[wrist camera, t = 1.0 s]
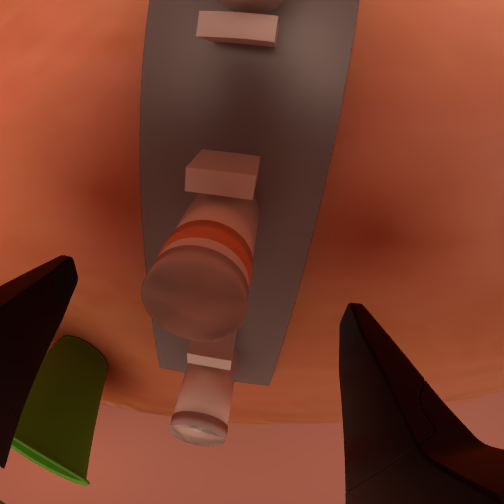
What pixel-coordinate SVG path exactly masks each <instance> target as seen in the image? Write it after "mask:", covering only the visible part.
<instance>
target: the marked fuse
mask: <svg viewBox="0 0 504 504" xmlns="http://www.w3.org/2000/svg"><path fill="white" fill-rule="evenodd" d="M258 221H259V206H258V203H257V201H256V199H255V197H254V196H253V200H248V199H241V198H234V197H226V196H219V195H211V194H204V193H197V194H196V196H195V197H194V199H193V201H192V202H191V204H190V205H189V207H188V209H187V210H186V212H185V214H184V215H183V217H182V219H181V220H180V222H179V224H178V225H177V227H176V229H175V230H174V231H173V232H172V233H171V235H170V236H169V238H168V239H167V241H166V243H165V244H164V246H163V248H162V250H161V251H160V253H159V255H158V257H157V259H156V260H155V262H154V263H153V265H152V267H151V269H150V271H149V272H148V274H147V276H146V278H145V280H144V282H143V285H142V290H141V294H142V300H143V304H144V306H145V308H146V310H147V312H148V313H149V315H150V316H151V317H152V318H153V320H154V321H155V322H156V323H158V324H159V325H160V326H161V327H162V328H164V329H165V330H167V331H169V332H170V333H172V334H174V335H177V336H179V337H182V338H185V339H188V340H193V341H202V342H208V341H217V340H221V339H224V338H227V337H229V336H231V335H232V334H234V333H235V332H236V331H237V330H238V329H239V328H240V327H241V326H242V324H243V322H244V320H245V316H246V310H247V303H248V296H249V288H250V283H251V276H252V270H253V253H254V247H255V240H256V234H257V228H258Z"/></svg>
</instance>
